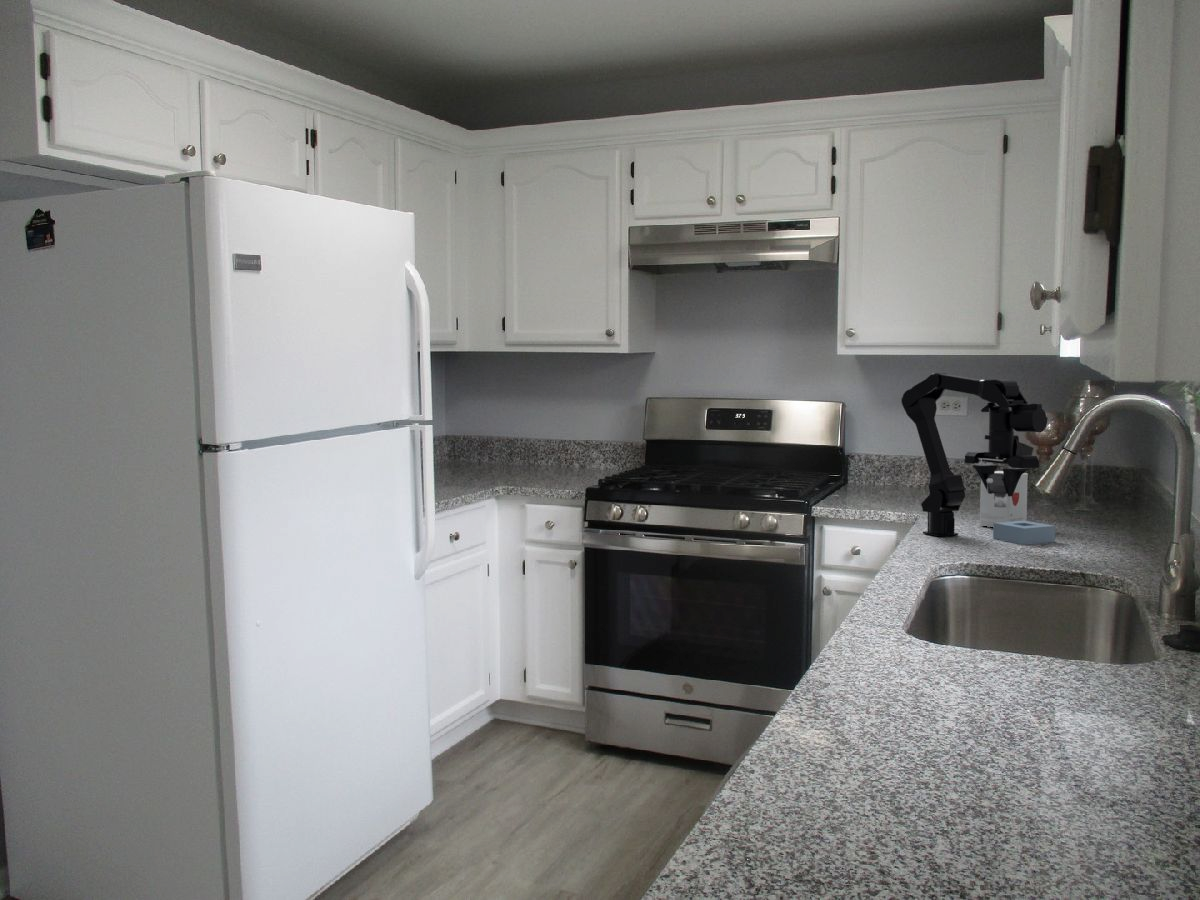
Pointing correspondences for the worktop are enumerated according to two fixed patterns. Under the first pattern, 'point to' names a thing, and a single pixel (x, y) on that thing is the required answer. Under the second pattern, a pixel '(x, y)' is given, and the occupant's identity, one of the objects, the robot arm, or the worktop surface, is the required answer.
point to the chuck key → (997, 488)
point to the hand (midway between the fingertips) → (1000, 495)
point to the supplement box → (1014, 505)
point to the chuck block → (1024, 532)
